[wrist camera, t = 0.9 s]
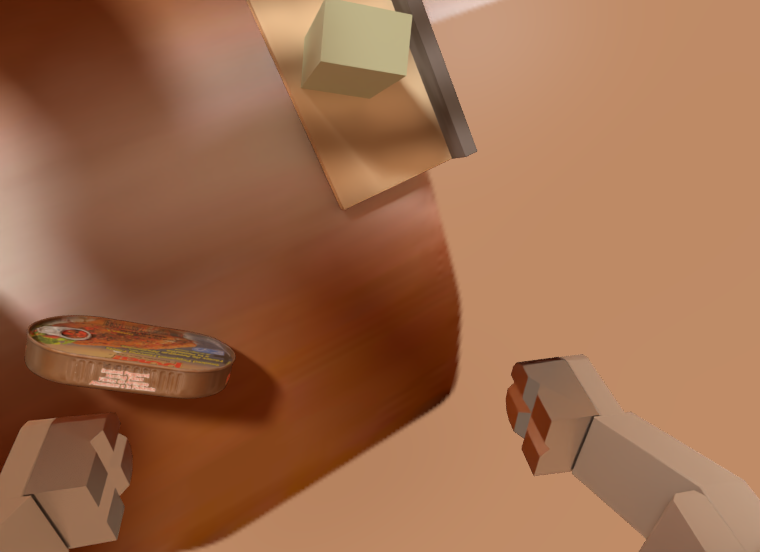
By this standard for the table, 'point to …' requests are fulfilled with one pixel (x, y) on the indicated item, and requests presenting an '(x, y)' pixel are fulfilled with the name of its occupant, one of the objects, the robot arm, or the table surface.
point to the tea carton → (355, 49)
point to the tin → (127, 357)
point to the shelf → (370, 105)
